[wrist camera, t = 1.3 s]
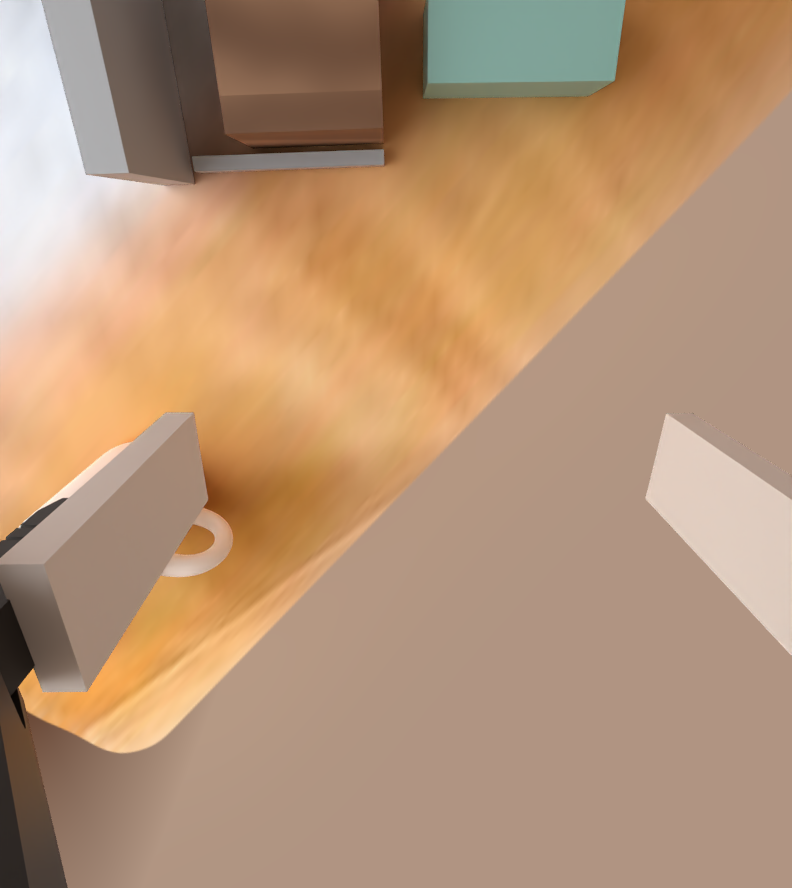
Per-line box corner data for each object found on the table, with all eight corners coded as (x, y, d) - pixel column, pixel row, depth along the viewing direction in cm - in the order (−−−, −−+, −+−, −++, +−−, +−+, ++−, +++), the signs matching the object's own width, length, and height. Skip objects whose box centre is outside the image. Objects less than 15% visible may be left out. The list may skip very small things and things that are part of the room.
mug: (260, 470, 40) (222, 548, 31) (236, 551, 43) (195, 643, 34) (105, 423, 38) (15, 490, 29) (92, 510, 41) (7, 597, 32)
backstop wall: (112, -68, 27) (-9, -194, 19) (374, -77, 27) (371, -207, 19) (163, 185, 32) (85, 174, 23) (384, 177, 32) (384, 163, 24)
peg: (422, 15, 29) (428, -14, 25) (597, 13, 29) (627, -16, 25) (422, 99, 30) (427, 83, 27) (587, 97, 30) (614, 80, 27)
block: (229, -30, 27) (191, -92, 22) (376, -35, 27) (374, -98, 22) (253, 148, 31) (224, 134, 25) (383, 143, 31) (383, 128, 25)
